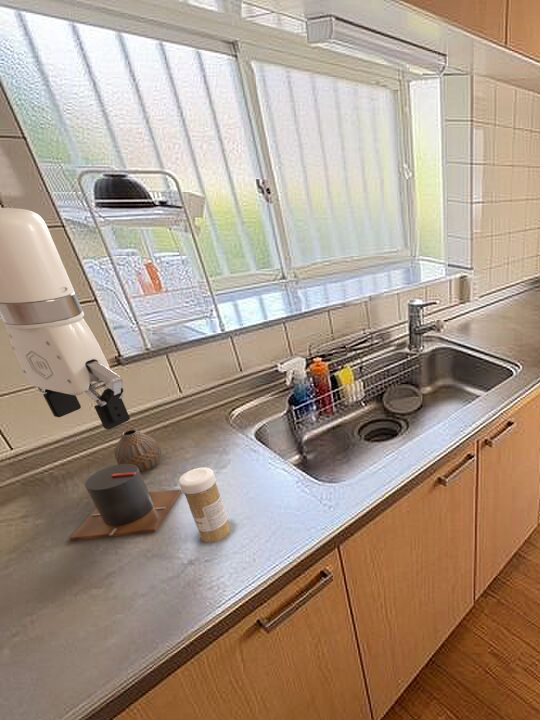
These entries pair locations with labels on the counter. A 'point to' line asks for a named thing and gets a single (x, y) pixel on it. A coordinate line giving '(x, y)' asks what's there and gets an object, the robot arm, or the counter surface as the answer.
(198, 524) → the sprinkles bottle
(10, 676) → the counter surface
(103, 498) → the knob
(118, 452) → the vase
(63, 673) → the counter surface
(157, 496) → the wooden board
